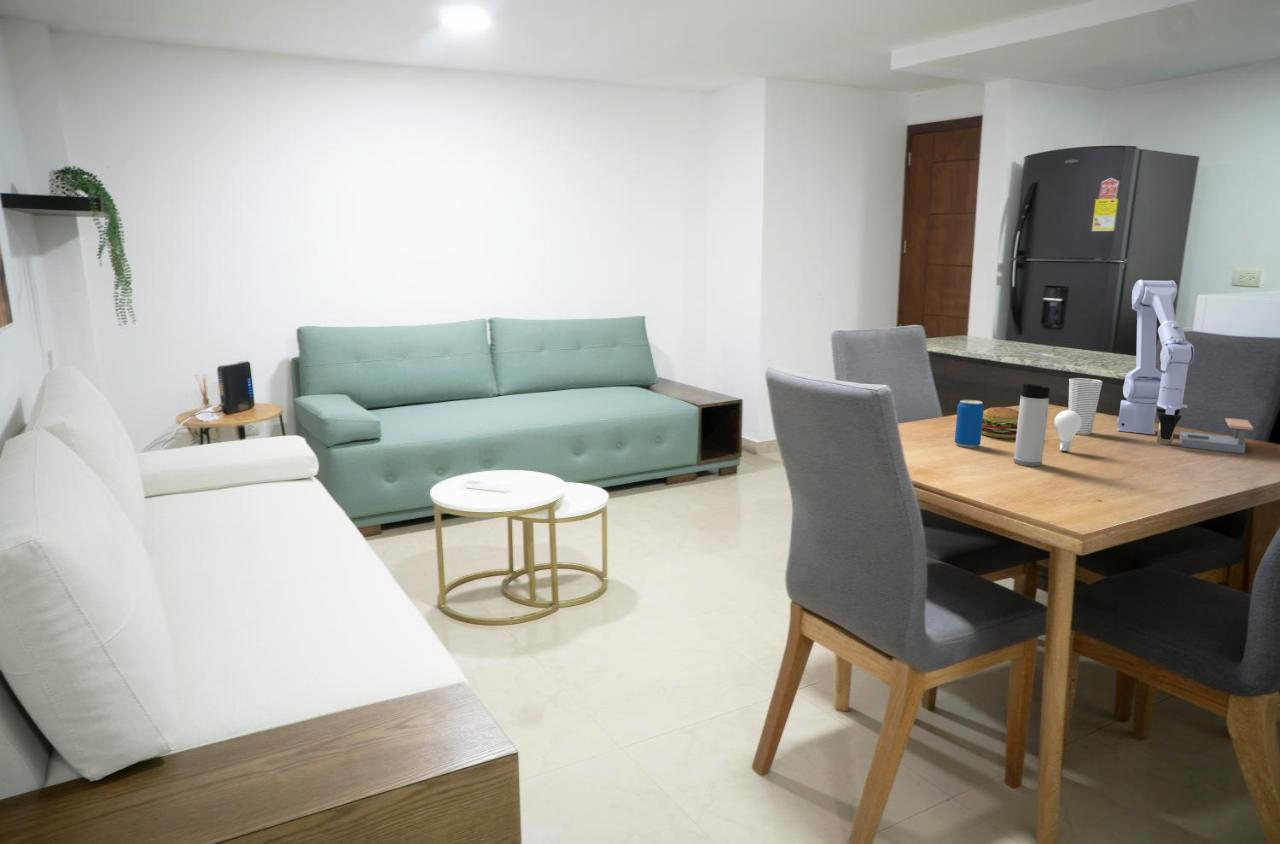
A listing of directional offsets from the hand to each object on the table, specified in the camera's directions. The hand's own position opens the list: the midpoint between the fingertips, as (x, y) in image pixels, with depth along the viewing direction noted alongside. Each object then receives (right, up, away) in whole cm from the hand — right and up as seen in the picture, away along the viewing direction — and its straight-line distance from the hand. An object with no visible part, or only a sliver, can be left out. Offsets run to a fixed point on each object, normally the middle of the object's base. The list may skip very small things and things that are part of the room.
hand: (1165, 436), depth 229 cm
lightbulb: (-33, -4, -11) cm, 36 cm away
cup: (-17, +1, +13) cm, 21 cm away
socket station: (+12, -2, -1) cm, 12 cm away
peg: (0, -2, 0) cm, 2 cm away
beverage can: (-57, -3, -6) cm, 57 cm away
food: (-42, 0, +8) cm, 42 cm away
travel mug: (-50, -6, -25) cm, 56 cm away
